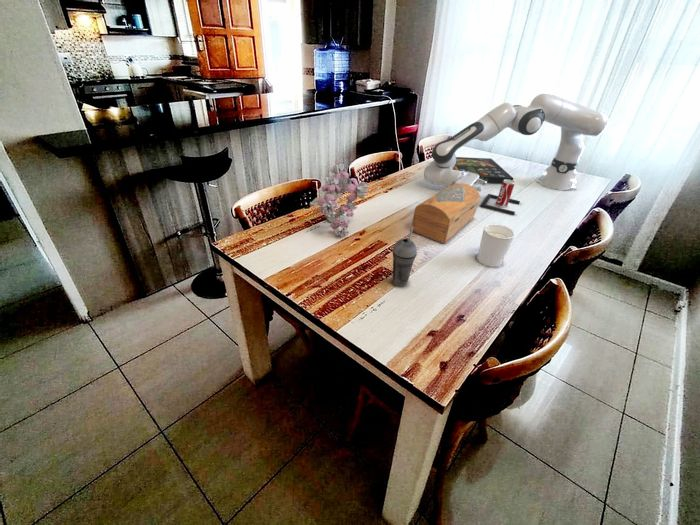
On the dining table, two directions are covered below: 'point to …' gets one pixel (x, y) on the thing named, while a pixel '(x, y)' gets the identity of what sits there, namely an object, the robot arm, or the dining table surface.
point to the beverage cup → (403, 260)
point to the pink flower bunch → (334, 192)
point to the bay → (497, 207)
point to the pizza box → (483, 169)
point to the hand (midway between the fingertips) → (483, 186)
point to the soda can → (505, 193)
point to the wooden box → (446, 212)
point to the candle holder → (494, 244)
